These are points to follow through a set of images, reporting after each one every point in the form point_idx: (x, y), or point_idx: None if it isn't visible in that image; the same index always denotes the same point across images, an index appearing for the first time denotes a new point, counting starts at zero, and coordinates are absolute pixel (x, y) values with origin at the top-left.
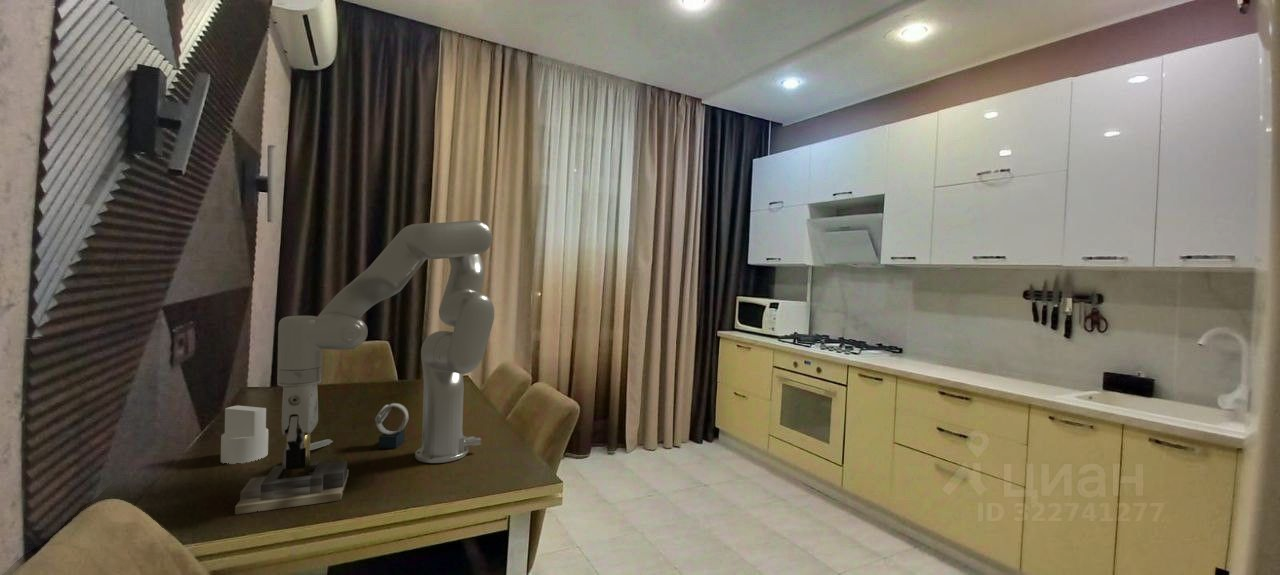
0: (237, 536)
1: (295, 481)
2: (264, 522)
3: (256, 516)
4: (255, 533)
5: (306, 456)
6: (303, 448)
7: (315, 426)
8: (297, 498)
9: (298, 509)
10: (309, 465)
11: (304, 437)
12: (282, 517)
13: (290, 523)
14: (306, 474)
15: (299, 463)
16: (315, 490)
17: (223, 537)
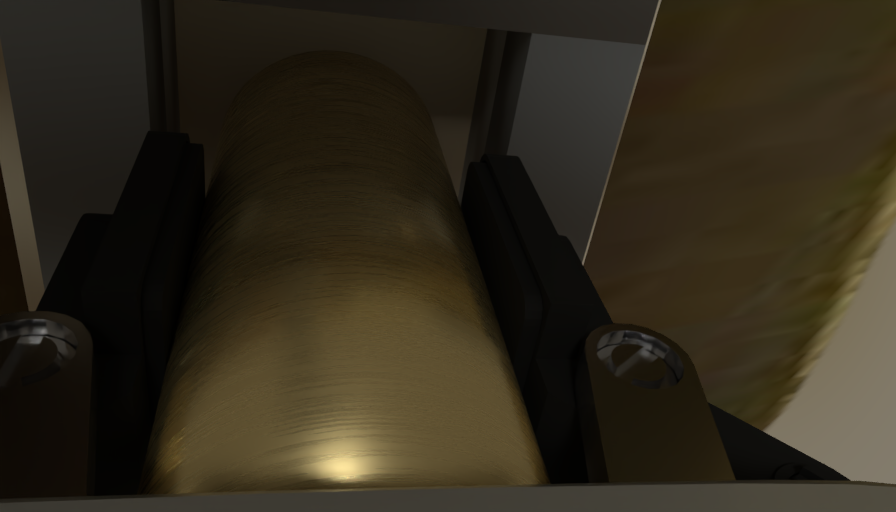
0: (834, 307)
1: (605, 171)
2: (748, 222)
3: (624, 274)
4: (866, 240)
5: (438, 201)
6: (624, 330)
7: (301, 492)
8: (633, 88)
9: (678, 50)
10: (348, 98)
11: (615, 471)
12: (747, 137)
13: (882, 80)
14: (400, 88)
15: (560, 236)
16: None
17: (795, 357)
